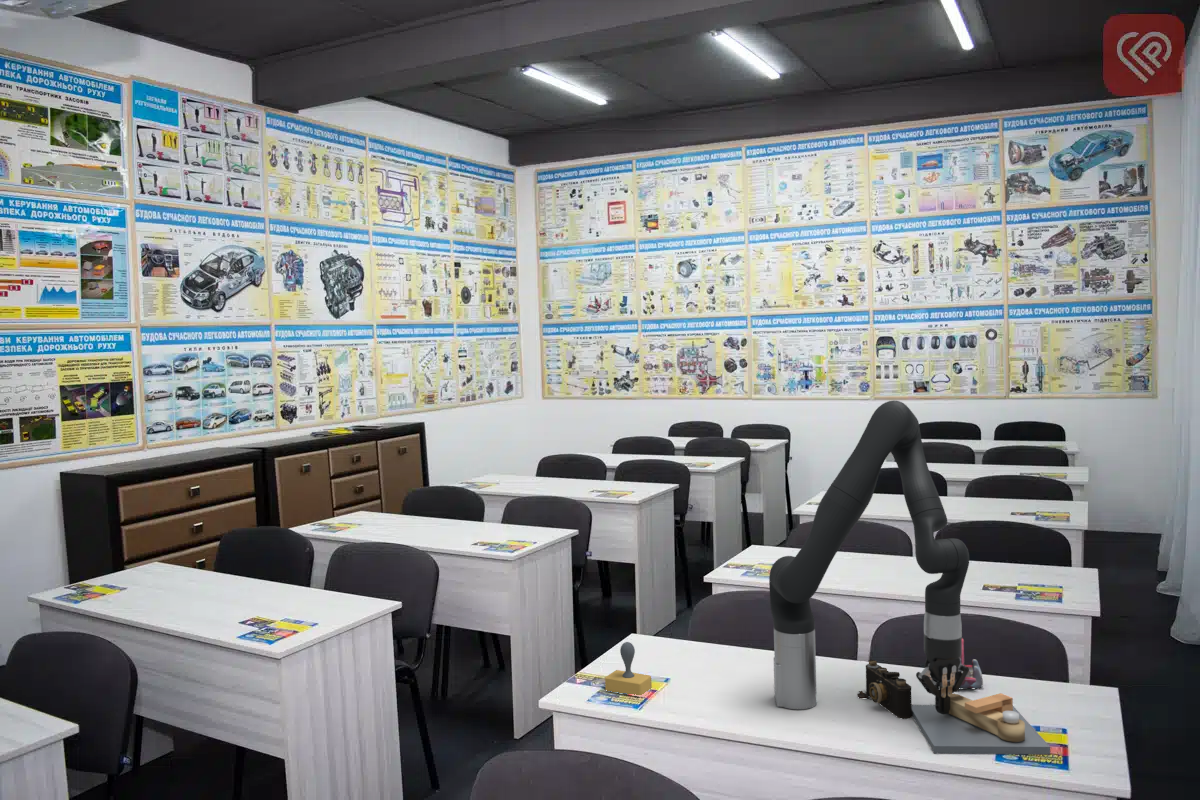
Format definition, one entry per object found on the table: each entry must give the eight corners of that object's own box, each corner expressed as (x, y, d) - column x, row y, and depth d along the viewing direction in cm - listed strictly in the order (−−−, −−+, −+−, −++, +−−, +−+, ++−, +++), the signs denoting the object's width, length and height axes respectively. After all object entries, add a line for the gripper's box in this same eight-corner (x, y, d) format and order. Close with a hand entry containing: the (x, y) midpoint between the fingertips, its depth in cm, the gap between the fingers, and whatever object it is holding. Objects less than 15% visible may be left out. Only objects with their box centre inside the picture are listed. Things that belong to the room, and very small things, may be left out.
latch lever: (1030, 738, 180) (1030, 723, 180) (1012, 743, 178) (1012, 728, 178) (955, 705, 198) (955, 691, 198) (938, 709, 196) (937, 696, 196)
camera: (852, 694, 211) (851, 660, 211) (878, 691, 213) (877, 657, 212) (888, 721, 195) (887, 685, 195) (916, 718, 197) (916, 682, 196)
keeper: (1001, 718, 191) (1000, 693, 191) (1013, 723, 188) (1012, 697, 188) (965, 728, 187) (964, 702, 186) (976, 734, 184) (976, 707, 184)
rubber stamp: (652, 690, 218) (650, 641, 218) (641, 698, 213) (639, 648, 213) (616, 684, 223) (614, 636, 223) (604, 692, 218) (603, 643, 218)
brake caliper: (995, 685, 207) (960, 641, 209) (954, 710, 210) (920, 667, 212) (992, 668, 218) (958, 627, 220) (953, 692, 221) (921, 651, 223)
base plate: (934, 753, 179) (933, 721, 179) (908, 711, 200) (908, 682, 200) (1050, 754, 177) (1050, 721, 177) (1012, 711, 198) (1012, 682, 198)
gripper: (953, 623, 198) (953, 701, 199) (905, 632, 193) (905, 712, 194) (979, 633, 191) (979, 713, 192) (931, 642, 186) (931, 725, 187)
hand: (942, 712), depth 193 cm, fingers closed
